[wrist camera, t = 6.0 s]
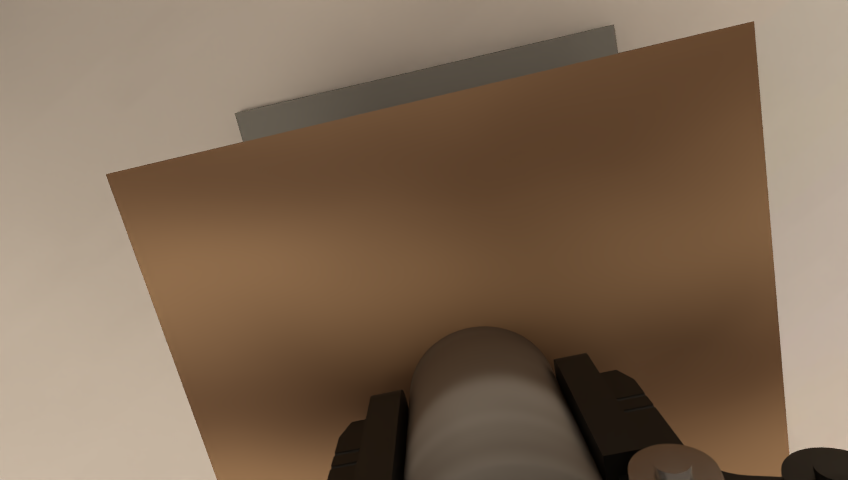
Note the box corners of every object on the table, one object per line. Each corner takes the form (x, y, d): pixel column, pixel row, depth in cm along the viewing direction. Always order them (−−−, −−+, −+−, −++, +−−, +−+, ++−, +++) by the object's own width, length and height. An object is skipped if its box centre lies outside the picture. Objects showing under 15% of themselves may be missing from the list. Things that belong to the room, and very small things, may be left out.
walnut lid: (130, 169, 13) (-120, 219, 7) (727, 28, 12) (1011, -49, 6) (294, 632, 16) (215, 932, 10) (775, 548, 15) (992, 825, 9)
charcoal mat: (239, 113, 26) (234, 113, 26) (610, 26, 25) (614, 24, 24) (332, 437, 30) (330, 443, 30) (658, 376, 29) (662, 381, 28)
